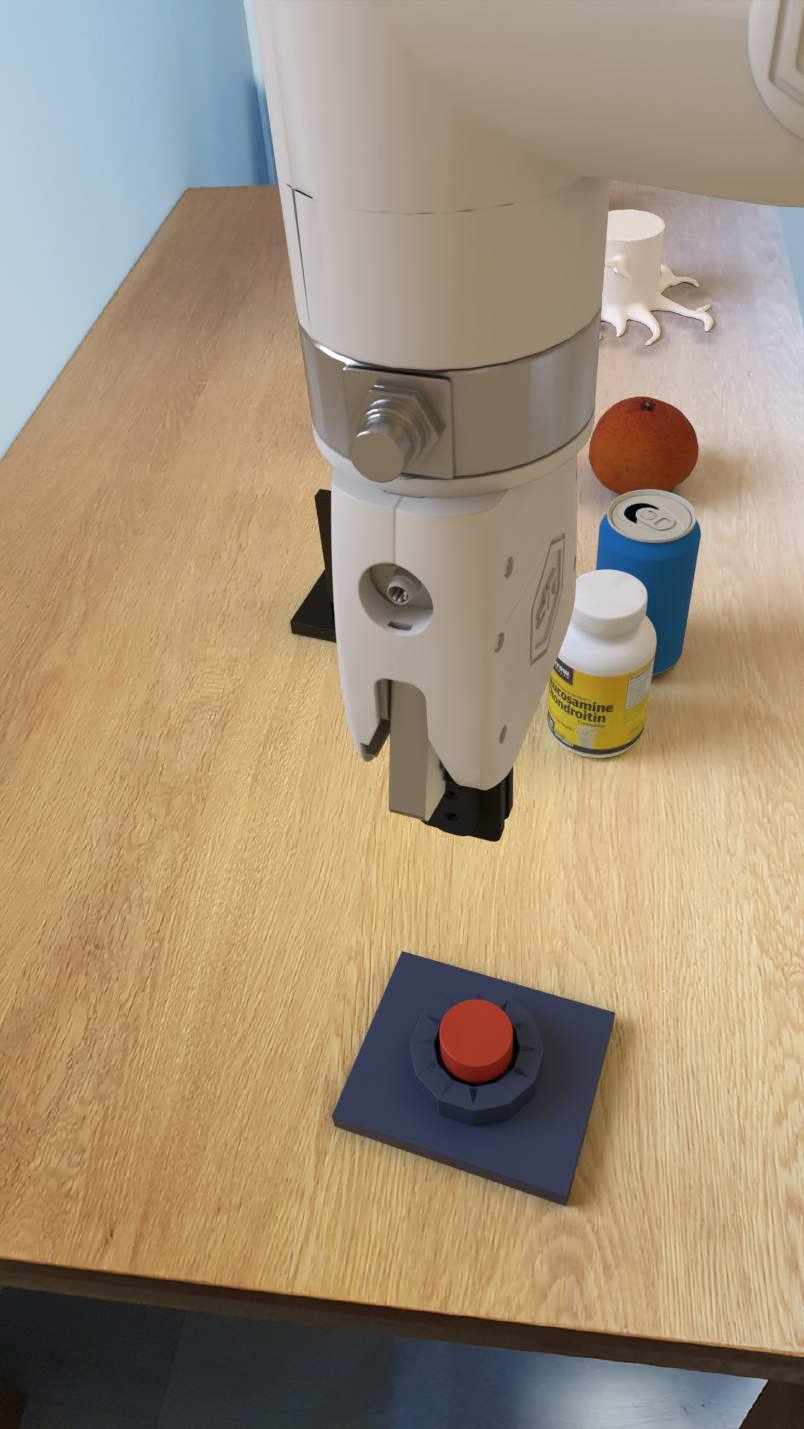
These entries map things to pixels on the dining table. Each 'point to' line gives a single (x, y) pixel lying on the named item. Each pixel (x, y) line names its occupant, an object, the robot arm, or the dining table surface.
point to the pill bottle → (603, 667)
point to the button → (476, 1040)
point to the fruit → (643, 446)
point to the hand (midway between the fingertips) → (466, 816)
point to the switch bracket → (319, 584)
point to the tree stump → (639, 273)
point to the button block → (488, 1115)
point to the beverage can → (655, 560)
